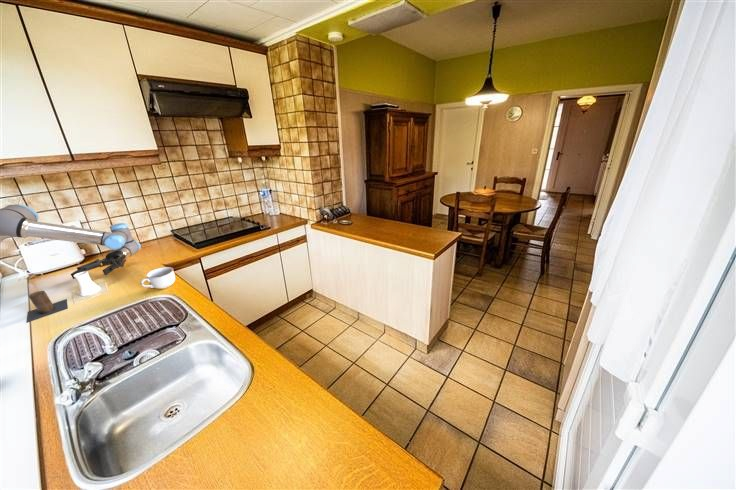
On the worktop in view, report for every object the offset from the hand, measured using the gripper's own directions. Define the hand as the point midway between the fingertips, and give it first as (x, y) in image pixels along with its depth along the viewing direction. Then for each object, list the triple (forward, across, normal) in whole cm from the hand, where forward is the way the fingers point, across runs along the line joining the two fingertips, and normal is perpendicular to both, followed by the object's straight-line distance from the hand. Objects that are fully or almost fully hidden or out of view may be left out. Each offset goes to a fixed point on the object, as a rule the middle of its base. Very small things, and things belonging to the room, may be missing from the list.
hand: (88, 274), depth 129 cm
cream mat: (+4, 0, -8) cm, 9 cm away
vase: (+4, 0, -8) cm, 9 cm away
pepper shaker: (+17, +7, -8) cm, 20 cm away
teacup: (+7, -33, -9) cm, 35 cm away
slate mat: (+16, +8, -8) cm, 20 cm away
